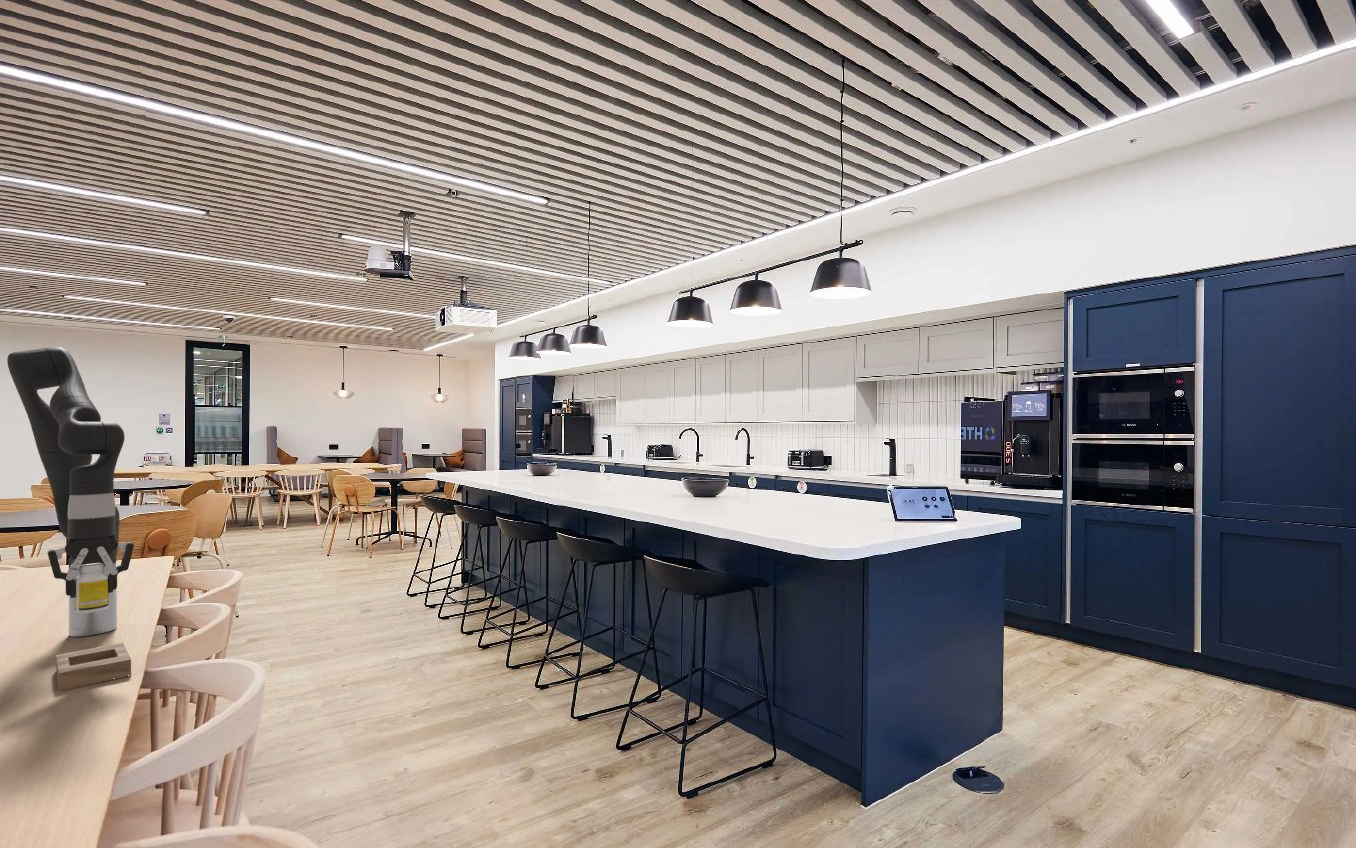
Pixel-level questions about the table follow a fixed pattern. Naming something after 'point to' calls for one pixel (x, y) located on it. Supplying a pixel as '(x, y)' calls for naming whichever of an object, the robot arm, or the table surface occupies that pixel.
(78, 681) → the well block
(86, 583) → the supplement bottle
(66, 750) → the table surface
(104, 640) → the table surface
